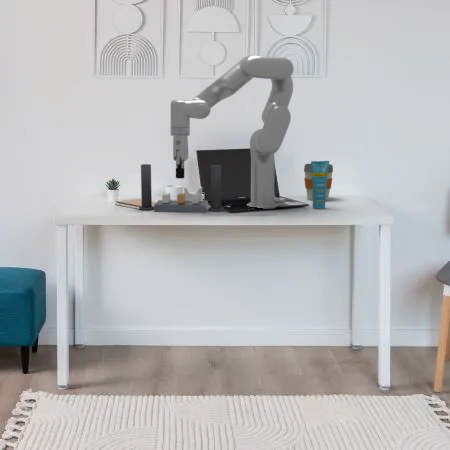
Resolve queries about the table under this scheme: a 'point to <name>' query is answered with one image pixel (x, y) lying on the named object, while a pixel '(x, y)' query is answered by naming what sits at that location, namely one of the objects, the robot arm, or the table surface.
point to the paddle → (196, 198)
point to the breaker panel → (180, 206)
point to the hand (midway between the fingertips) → (180, 178)
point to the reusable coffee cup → (309, 181)
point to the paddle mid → (181, 198)
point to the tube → (319, 183)
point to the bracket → (189, 195)
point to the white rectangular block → (166, 198)
